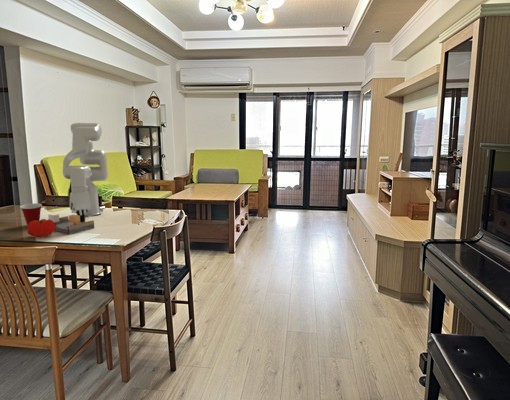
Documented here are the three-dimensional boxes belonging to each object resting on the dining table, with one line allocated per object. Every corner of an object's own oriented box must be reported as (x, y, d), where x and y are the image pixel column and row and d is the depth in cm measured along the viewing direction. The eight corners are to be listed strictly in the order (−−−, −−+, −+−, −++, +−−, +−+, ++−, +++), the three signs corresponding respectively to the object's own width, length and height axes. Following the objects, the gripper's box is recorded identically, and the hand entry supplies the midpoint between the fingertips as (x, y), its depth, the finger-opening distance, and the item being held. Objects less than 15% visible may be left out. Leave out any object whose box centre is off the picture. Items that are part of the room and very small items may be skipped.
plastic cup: (20, 228, 195) (18, 207, 193) (23, 224, 205) (20, 204, 203) (43, 226, 200) (41, 205, 198) (44, 222, 210) (42, 202, 208)
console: (67, 223, 207) (67, 216, 206) (94, 228, 196) (93, 220, 195) (42, 229, 194) (41, 221, 193) (69, 234, 183) (68, 226, 182)
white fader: (54, 222, 197) (53, 213, 196) (59, 223, 194) (58, 214, 193) (49, 223, 194) (48, 214, 193) (54, 224, 192) (53, 215, 191)
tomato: (63, 232, 186) (62, 216, 184) (48, 239, 173) (47, 222, 172) (38, 232, 186) (36, 216, 185) (21, 239, 174) (19, 222, 172)
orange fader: (74, 224, 194) (74, 214, 193) (80, 225, 191) (79, 215, 190) (69, 225, 191) (68, 215, 190) (75, 226, 189) (74, 216, 188)
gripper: (87, 187, 200) (89, 218, 203) (62, 190, 187) (65, 223, 190) (95, 188, 196) (98, 219, 199) (70, 191, 183) (73, 225, 186)
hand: (82, 221), depth 194 cm, fingers closed
